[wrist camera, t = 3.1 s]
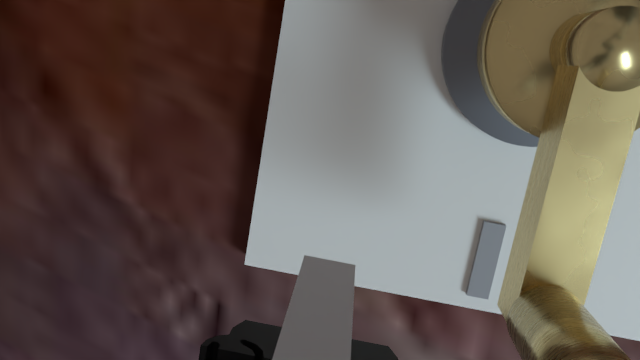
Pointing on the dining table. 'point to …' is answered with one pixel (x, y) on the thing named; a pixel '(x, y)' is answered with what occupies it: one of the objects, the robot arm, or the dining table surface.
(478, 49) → the brass lever knob
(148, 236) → the dining table surface
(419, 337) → the dining table surface
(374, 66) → the post board
